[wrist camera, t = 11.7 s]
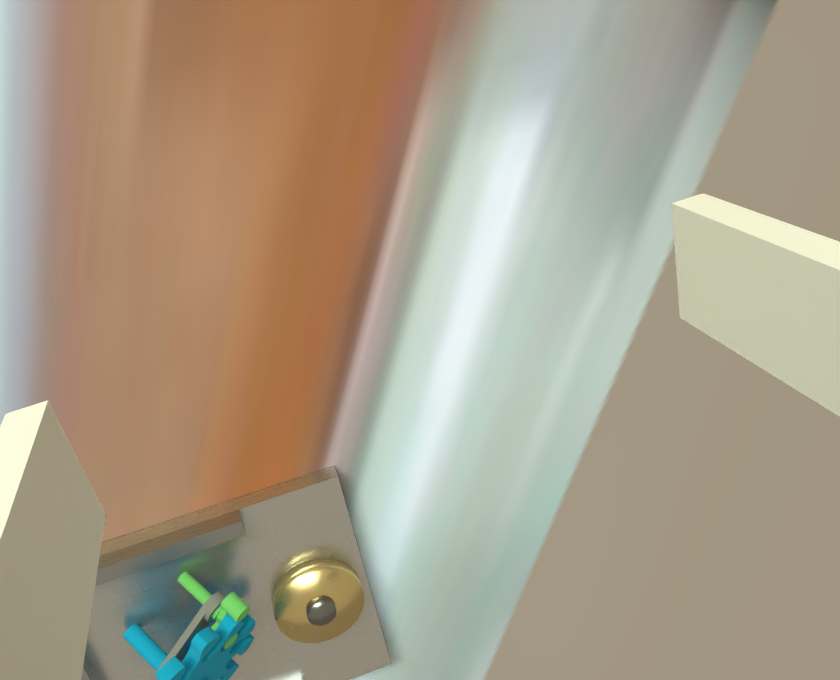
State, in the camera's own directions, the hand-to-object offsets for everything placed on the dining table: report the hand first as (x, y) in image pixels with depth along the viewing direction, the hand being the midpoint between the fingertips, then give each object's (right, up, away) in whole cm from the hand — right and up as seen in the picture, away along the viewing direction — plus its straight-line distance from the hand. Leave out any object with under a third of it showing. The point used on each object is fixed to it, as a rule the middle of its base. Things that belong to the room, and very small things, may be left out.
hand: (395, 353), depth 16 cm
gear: (-14, -18, +31) cm, 39 cm away
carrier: (-12, -17, +33) cm, 39 cm away
